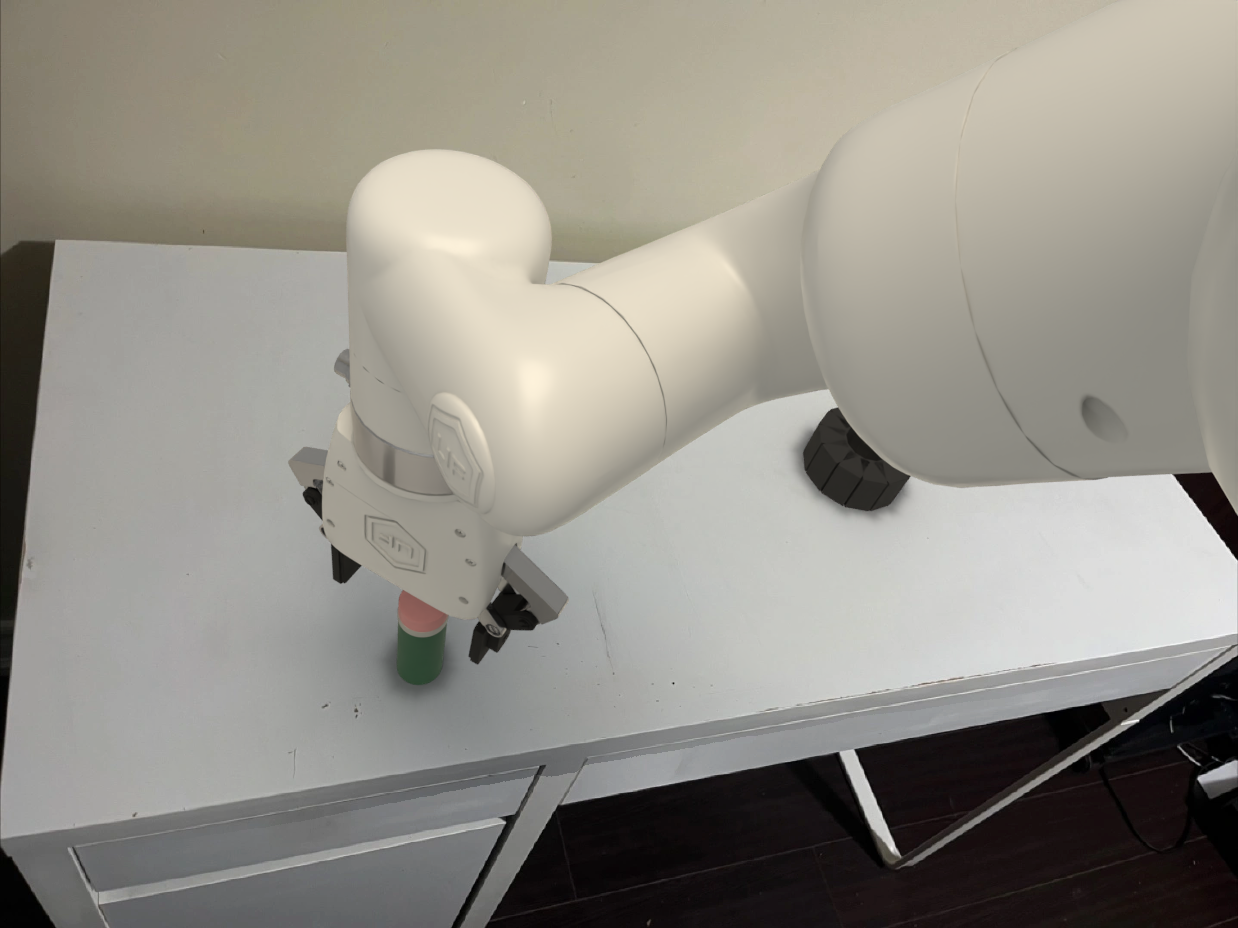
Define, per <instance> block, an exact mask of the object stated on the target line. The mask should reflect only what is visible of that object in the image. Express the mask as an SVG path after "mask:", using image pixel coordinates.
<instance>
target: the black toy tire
mask: <svg viewBox="0 0 1238 928" xmlns="http://www.w3.org/2000/svg"><path fill="white" fill-rule="evenodd" d="M802 457H803V465H804V471H805V474H806V475H807V476H808V478H809V479H810V481H811V482H812V484H813V485H814V486H815V487H816V489H817V490H818V491H819V492H820V491H821V492H820V493H821V494H822V495H824V496H825V497H827V498H829V499H831V500H832V501H833V502H835V503H836V504H837V505H840V506H842V507H843V506H844V507H845V508H849V509H854V510H859V511H863V512H869V511H870V512H873V511H875V510H876V511H877V510H879V509H881V508H885V507H888V506H890V505H891V504H892V503H893V502H894V500H895V499H896V497H897V495H899V493H900V492H901V490H902V489H903V488H904V487H905V485H907V482H908V481H909V480H910V478H911V477H912V476H909V475H907V474H905V473H903V472H901V471H899V470H897V469H895V468H894V467H892V466H891V465H890V464H888V463H887V462H886V461H884V460H883V459H882V458H880V457H879V456H878V455H877V454H876V453H875V452H874V450H873V449H872V448H870V447H869V446H868V445H867V444H866V443H865V442H864V441H863V440H862V439H861V438H860V437H859V436H858V434H857V433H856V432H855V431H854V430H853V428H852V427H851V426H850V425H849V423H848V422H847V420H846V419H845V417H844V416H843V414H842V413H841V411H840V409H839V408H838V406H837V407H834V408H833V407H832V408H830V409H829V410H828V411H827V412H826V413H825V415H824V416H823V417H822V419H821V420H820V421H819V423H818V425H817V426H816V428H815V430H814V432H813V433H812V435H811V436H810V439H809V440H808V442H807V444H806V446H805V448H804V449H803V452H802Z"/></svg>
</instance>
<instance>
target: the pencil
mask: <svg viewBox="0 0 1238 928" xmlns="http://www.w3.org/2000/svg"><path fill="white" fill-rule="evenodd" d="M397 604H398V606H397V611H396V614H397V615H396V617H397V618H396V619H397V638H396V639H397V640H396V641H397V642H396V670H397V673H398V675H399V677H400V679H402V680H403V681H404V682H406V683H408V684H410V685H414V686H423V685H428V684H429V683H431V682H433V681H434V680H436V679H437V678H438V676H439V675H440V674H441V671H442V669H443V662H444V653H445V644H446V636H447V629H448V628H447V626H448V622H449V617H450V616H449V615H447V614H445V613H443V612H441V611H439V610H438V609H436V608H434V607H432V606H430V605H429V604H427V603H425V602H423V601H422V600H420V599H418V598H416V597H415V596H413V595H411V594H409V593H408V592H406V591H404V590H402V591H401V592H400V594H399V597H398V603H397Z"/></svg>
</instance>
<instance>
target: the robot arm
mask: <svg viewBox="0 0 1238 928" xmlns="http://www.w3.org/2000/svg"><path fill="white" fill-rule="evenodd" d="M537 193H538V192H536V190H535V189H534V188H533V187H532V186H531V185H530V184H529V183H528V182H527V181H526V180H524V178H522V177H521V176H519V174H517V173H516V172H514V171H513V170H511V169H509V168H507V166H505V165H502V164H501V163H499V162H497V161H494V160H493V159H490V158H488V157H484V156H481V155H478V154H474V153H471V152H467V151H461V150H454V149H443V148H432V149H418V150H412V151H408V152H405V153H401V154H400V153H399V154H397V155H394V156H392V157H389V158H387V159H385V160H383V161H380V162H379V163H378V164H377V165H374V166H373V167H372V168H371V169H370V170H369V171H368V172H367V173H366V174H365V175H364V176H363V177H362V178H361V180H359V181H358V183H357V184H356V187H355V188H354V190H353V193H352V195H351V198H350V199H349V203H348V207H347V214H346V222H345V223H346V225H345V243H346V245H345V247H346V249H345V250H346V271H347V272H346V279H347V280H346V281H347V311H348V312H347V313H348V314H347V315H348V316H347V317H348V346H349V347H348V348H346V349H344V350H342V352H340V353H339V355H338V356H337V357H336V359H335V362H334V365H333V372H334V373H335V374H336V375H337V376H339V377H341V378H343V379H345V382H346V383H347V384H348V387H349V399H350V400H349V402H348V403H347V404H346V405H345V406H344V407H343V408H342V409H341V410H340V413H339V414H338V416H337V419H336V422H335V425H334V427H333V430H332V431H333V432H332V435H331V437H330V442H329V446H328V449H321V448H316V447H311V446H303V447H302V448H301V449H300V450H299V451H298V452H296V453H295V454H294V455H293V456H292V457H291V458H290V459H288V460H287V461H288V462H287V464H288V466H289V468H290V470H291V471H292V473H293V475H294V477H295V479H296V480H297V482H298V484H299V486H302V487H303V488H304V490H303V492H302V493H301V494H302V497H303V501H304V502H305V503H306V505H308V506H309V507H310V508H311V509H312V510H313V512H314V513H315V514H316V515H317V516H318V517H319V519H320V520H321V521H322V524H321V525H320V526H319V527H318V529H319V532H320V534H321V535H322V536H323V537H324V538H325V539H326V540H328V542H329V543H330V551H331V552H330V553H331V554H330V555H331V569H332V570H331V571H332V580H333V581H335V582H337V583H338V584H340V585H342V584H346V583H348V581H350V579H351V578H352V577H353V576H354V575H355V574H356V573H357V571H358V570H359V569H360V568H361V567H363V568H365V569H367V570H368V571H370V572H372V573H374V574H375V575H377V576H379V577H380V578H382V579H383V580H386V581H387V582H389V583H390V584H392V585H394V586H395V587H398V588H399V589H401V590H402V591H403V590H404V591H406V592H408V593H409V594H411V595H413V596H415V597H416V598H418V599H420V600H422V601H423V602H425V603H427V604H429V605H430V606H432V607H434V608H436V609H438V610H439V611H441V612H443V613H445V614H447V615H449V617H452V618H455V619H459V620H465V621H472V620H477V619H478V622H477V623H476V624H475V626H474V627H473V631H472V636H471V639H470V640H471V641H470V647H469V650H468V656H467V657H468V658H469V661H471V662H472V663H473V664H475V665H477V666H478V665H479V664H481V662H482V661H483V660H484V658H485V656H486V655H487V654H488V652H489V650H490V651H493V652H494V653H495V654H497V653H499V652H500V651H501V649H502V648H503V646H504V645H505V643H506V642H507V640H508V638H509V636H510V635H511V632H512V631H529V632H531V631H534V630H535V628H536V627H537V626H539V625H544V624H545V625H546V624H547V623H550V622H552V621H555V620H557V619H559V617H560V615H562V613H563V611H564V609H565V608H566V606H567V605H568V603H570V598H569V596H568V595H567V594H566V593H565V592H564V591H563V590H562V589H561V588H560V587H559V586H558V585H557V584H556V583H555V582H554V581H553V580H552V579H551V578H550V577H549V576H548V575H547V574H546V573H545V572H544V571H543V570H542V569H541V568H540V567H538V566H537V564H536V563H534V562H533V561H532V560H531V559H530V558H529V557H528V556H527V555H526V554H525V552H523V551H522V545H523V539H524V537H529V538H530V537H536V536H540V535H544V534H545V535H546V534H547V533H550V532H553V531H555V530H557V529H559V528H561V527H563V526H565V525H567V524H568V523H571V522H573V521H574V520H576V519H577V518H579V517H580V516H582V515H583V514H585V513H587V512H588V511H590V510H592V509H593V508H594V507H596V506H597V505H599V504H600V503H602V502H603V501H605V500H606V499H608V498H610V497H611V496H612V495H614V494H616V493H617V492H618V491H620V490H621V489H623V488H624V487H626V486H628V485H630V484H631V483H633V481H635V480H637V479H638V478H640V477H641V476H643V475H645V474H646V473H647V472H648V471H650V470H651V469H653V468H654V467H656V466H657V465H659V464H660V463H662V462H664V461H665V460H667V459H668V458H669V457H671V456H672V455H674V454H676V453H677V452H678V451H680V450H682V449H683V448H685V447H686V446H687V445H689V444H691V443H693V442H694V441H696V440H697V439H699V438H701V437H702V436H703V435H706V433H708V432H710V431H712V430H713V429H715V428H717V427H718V426H719V425H721V424H722V423H725V422H726V421H727V420H730V419H732V417H734V416H736V415H738V414H739V413H741V412H743V411H745V410H747V409H750V408H753V407H755V406H758V405H761V404H764V403H768V402H771V401H774V400H778V399H784V398H789V397H792V396H793V397H795V396H798V395H799V396H800V395H803V394H809V393H813V392H814V393H815V392H818V391H827V390H828V391H829V393H830V396H831V397H832V399H833V401H834V403H835V405H836V406H837V407H838V408H839V409H840V411H841V413H842V414H843V416H844V417H845V419H846V420H847V422H848V423H849V425H850V426H851V427H852V428H853V430H854V431H855V432H856V433H857V434H858V436H859V437H860V438H861V439H862V440H863V441H864V442H865V443H866V444H867V445H868V446H869V447H870V448H872V449H873V450H874V452H875V453H876V454H877V455H878V456H879V457H880V458H882V459H883V460H884V461H886V462H887V463H888V464H890V465H891V466H892V467H894V468H895V469H897V470H899V471H901V472H903V473H905V474H907V475H909V476H911V477H912V478H915V479H917V480H920V481H922V482H925V483H928V484H931V485H934V486H935V485H936V486H943V487H950V488H957V489H965V488H985V487H986V488H987V487H1003V486H1004V487H1005V486H1014V485H1027V484H1041V483H1042V484H1044V483H1063V482H1064V483H1065V482H1080V481H1081V482H1082V481H1083V482H1084V481H1098V480H1103V479H1108V478H1120V477H1121V478H1123V477H1141V476H1161V475H1162V476H1163V475H1181V474H1201V473H1202V474H1204V473H1212V474H1213V476H1214V478H1215V479H1216V481H1217V483H1218V484H1219V486H1220V488H1221V490H1222V492H1223V493H1224V495H1225V496H1226V498H1227V499H1228V501H1229V504H1230V505H1231V507H1232V508H1233V510H1234V512H1235V514H1236V515H1237V516H1238V0H1116V1H1114V2H1112V3H1110V4H1107V5H1105V6H1104V7H1101V8H1098V9H1097V10H1095V11H1093V12H1091V13H1088V14H1087V15H1085V16H1082V17H1080V18H1078V19H1075V20H1073V21H1071V22H1069V23H1067V24H1065V25H1063V26H1061V27H1059V28H1057V29H1055V30H1052V31H1050V32H1049V33H1046V34H1044V35H1042V36H1040V37H1038V38H1036V39H1033V40H1031V41H1029V42H1027V43H1025V44H1022V45H1021V46H1018V47H1014V48H1012V49H1010V50H1007V51H1005V52H1003V53H1002V54H999V55H997V56H995V57H993V58H991V59H988V60H987V61H985V62H983V63H981V64H979V65H977V66H974V67H972V68H971V69H968V70H965V71H964V72H962V73H960V74H957V75H955V76H954V77H951V78H949V79H947V80H945V81H943V82H940V83H939V84H936V85H934V86H932V87H929V88H927V89H925V90H923V91H921V92H918V93H916V94H914V95H911V96H909V97H907V98H905V99H902V100H900V101H898V102H895V103H894V104H891V105H889V106H886V107H884V108H883V109H881V110H879V111H877V112H875V113H873V114H871V115H869V116H867V117H866V118H865V119H863V120H861V121H860V122H858V123H857V124H855V125H854V126H852V127H851V128H850V129H848V130H847V131H846V132H845V133H843V134H842V135H841V137H840V138H839V139H838V140H837V141H836V142H835V143H834V144H833V146H832V147H831V149H830V150H829V152H828V154H827V156H826V158H825V160H824V161H823V163H822V164H821V166H820V168H819V169H817V170H815V171H813V172H810V173H808V174H806V175H804V176H801V177H800V178H797V179H795V180H793V181H791V182H788V183H786V184H784V185H782V186H780V187H778V188H775V189H773V190H771V191H768V192H766V193H764V194H762V195H760V196H757V197H754V198H752V199H749V200H748V201H745V202H744V203H740V204H739V205H736V206H734V207H731V208H730V209H727V210H725V211H722V212H720V213H718V214H716V215H713V216H711V217H708V218H706V219H703V220H701V221H699V222H696V223H694V224H692V225H689V226H686V227H684V228H682V229H680V230H677V231H674V232H672V233H669V234H667V235H665V236H662V237H660V238H658V239H655V240H653V241H650V242H648V243H645V244H643V245H641V246H639V247H635V248H633V249H631V250H628V251H625V252H623V253H621V254H620V253H619V254H618V255H616V256H613V257H611V258H608V259H606V260H604V261H602V262H599V263H597V264H595V265H592V266H590V267H587V268H585V269H583V270H580V271H578V272H576V273H573V274H571V275H569V276H567V277H564V278H562V279H560V280H557V281H555V282H553V283H546V282H547V276H548V271H549V266H550V259H551V252H552V246H553V245H552V244H553V234H552V225H551V220H550V217H549V214H548V211H547V209H546V208H547V207H546V206H545V204H544V202H543V201H542V199H541V198H540V196H539V195H538V194H537ZM497 589H498V591H499V593H498V595H497V596H496V597H495V598H494V600H493V597H494V596H495V593H496V591H497ZM492 600H493V601H492Z"/></svg>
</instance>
